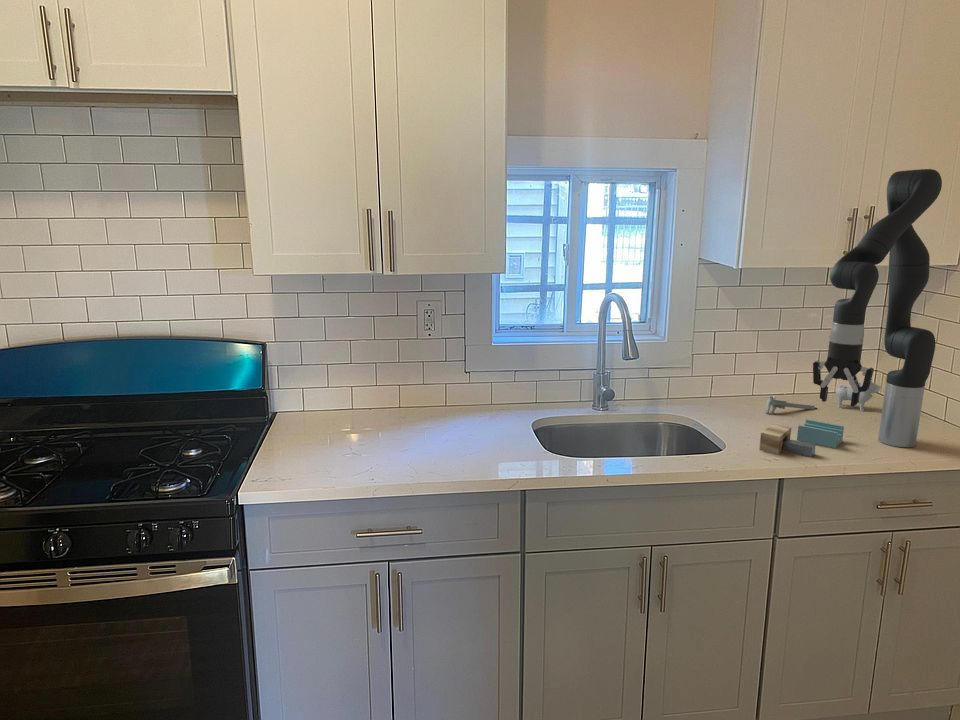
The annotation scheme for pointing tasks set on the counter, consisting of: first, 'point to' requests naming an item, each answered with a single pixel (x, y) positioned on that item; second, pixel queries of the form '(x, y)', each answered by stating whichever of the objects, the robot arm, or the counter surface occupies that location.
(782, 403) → the caliper
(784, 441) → the metal bar
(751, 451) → the counter surface
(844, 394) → the dog figurine
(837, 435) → the block
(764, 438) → the bore block
